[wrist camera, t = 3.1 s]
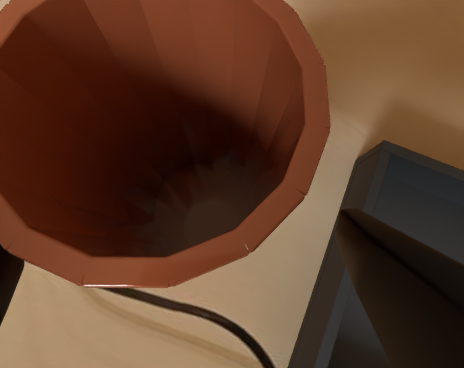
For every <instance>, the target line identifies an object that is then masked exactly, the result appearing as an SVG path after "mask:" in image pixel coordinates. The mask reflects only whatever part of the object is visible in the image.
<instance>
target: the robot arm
mask: <svg viewBox="0 0 464 368" xmlns="http://www.w3.org/2000/svg"><path fill="white" fill-rule="evenodd" d="M335 237H336V241H337V243H338V246H339V249H340V252H341V255H342V257H343V260H344V263H345V266H346V268H347V271H348V274H349V277H350V279H351V282H352V285H353V287H354V289H355V291H356V294H357V296H358V298H359V300H360V302H361V304H362V306H363V308H364V310H365V312H366V314H367V316H368V318H369V320H370V322H371V324H372V326H373V328H374V330H375V332H376V334H377V337H378V339H379V341H380V343H381V345H382V347H383V349H384V351H385V353H386V355H387V357H388V359H389V361H390V363H391V365H392V367H393V368H464V264H462V263H460V262H458V261H456V260H454V259H452V258H450V257H448V256H447V255H445V254H443V253H441V252H439V251H437V250H435V249H433V248H431V247H430V246H428V245H426V244H424V243H422V242H420V241H418V240H416V239H414V238H412V237H411V236H409V235H407V234H405V233H403V232H401V231H399V230H397V229H395V228H393V227H392V226H390V225H388V224H386V223H384V222H382V221H380V220H378V219H376V218H374V217H373V216H371V215H369V214H367V213H365V212H363V211H361V210H359V209H357V208H343V209H341V210H340V211H339V213H338V218H337V224H336V229H335ZM23 268H24V260H23V259H21V258H19V257H17V256H14V255H12V254H10V253H9V252H8V251H7V250H5V249H4V248H3V247H2V245H1V244H0V325H1V323H2V321H3V319H4V316H5V314H6V312H7V309H8V307H9V304H10V301H11V299H12V296H13V294H14V291H15V289H16V286H17V284H18V281H19V279H20V276H21V274H22V271H23Z"/></svg>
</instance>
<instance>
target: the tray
mask: <svg viewBox="0 0 464 368" xmlns="http://www.w3.org/2000/svg"><path fill="white" fill-rule="evenodd" d="M343 208H357V209H359V210H361V211H363V212H365V213H367V214H369V215H371V216H373V217H374V218H376V219H378V220H380V221H382V222H384V223H386V224H388V225H390V226H392V227H393V228H395V229H397V230H399V231H401V232H403V233H405V234H407V235H409V236H411V237H412V238H414V239H416V240H418V241H420V242H422V243H424V244H426V245H428V246H430V247H431V248H433V249H435V250H437V251H439V252H441V253H443V254H445V255H447V256H448V257H450V258H452V259H454V260H456V261H458V262H460V263H462V264H464V171H463V170H460V169H458V168H455V167H452V166H450V165H447V164H445V163H442V162H440V161H437V160H434V159H432V158H429V157H427V156H424V155H421V154H419V153H416V152H414V151H411V150H409V149H406V148H403V147H401V146H398V145H396V144H393V143H390V142H388V141H385V140H383V141H382V142H381V143H379V144H378V145H376V146H375V147H374V148H372V149H371V150H369V151H368V152H367V153H365V154H364V155H362V156H361V157H360V158H358V159H357V160H356V161H355V164H354V167H353V171H352V174H351V177H350V180H349V183H348V186H347V189H346V192H345V195H344V198H343V201H342V204H341V207H340V210H341V209H343ZM340 210H339V211H340ZM337 218H338V216H337ZM336 224H337V219H336V222H335V225H334V228H333V231H332V235H331V238H330V241H329V244H328V247H327V250H326V253H325V256H324V259H323V262H322V265H321V268H320V271H319V274H318V277H317V280H316V283H315V286H314V289H313V292H312V296H311V299H310V302H309V305H308V308H307V311H306V314H305V317H304V320H303V323H302V326H301V329H300V332H299V335H298V338H297V341H296V344H295V347H294V350H293V353H292V356H291V360H290V363H289V366H288V368H393V367H392V365H391V363H390V361H389V359H388V357H387V355H386V353H385V351H384V349H383V347H382V345H381V343H380V341H379V339H378V337H377V334H376V332H375V330H374V328H373V326H372V324H371V322H370V320H369V318H368V316H367V314H366V312H365V310H364V308H363V306H362V304H361V302H360V300H359V298H358V296H357V294H356V291H355V289H354V287H353V285H352V282H351V279H350V277H349V274H348V271H347V268H346V266H345V263H344V260H343V257H342V255H341V252H340V249H339V246H338V243H337V241H336V237H335V229H336Z"/></svg>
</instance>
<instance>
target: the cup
mask: <svg viewBox="0 0 464 368" xmlns="http://www.w3.org/2000/svg"><path fill="white" fill-rule="evenodd" d="M330 127H331V126H330V114H329V103H328V91H327V79H326V68H325V65H324V61H323V59H322V58H321V56H320V54H319V52H318V50H317V49H316V47H315V45H314V43H313V41H312V40H311V38H310V36H309V34H308V32H307V31H306V29H305V27H304V25H303V23H302V22H301V20H300V18H299V16H298V14H297V13H296V12H294V9H293V8H292V7H291V6H289V5H288V4H287V3H286V2H284V1H283V0H11V1H10V2H9V4H6V5H5V6H4V8H3V9H2V10H1V11H0V244H1V245H2V247H3V248H4V249H5V250H7V251H8V252H9V253H10V254H12V255H14V256H17V257H19V258H21V259H23V260H25V261H27V262H29V263H31V264H34V265H36V266H38V267H40V268H42V269H44V270H46V271H49V272H51V273H53V274H55V275H57V276H59V277H61V278H64V279H66V280H68V281H70V282H72V283H74V284H76V285H79V286H84V287H87V288H168V287H170V286H176V285H179V284H181V283H184V282H186V281H188V280H191V279H193V278H195V277H198V276H200V275H203V274H205V273H207V272H210V271H212V270H214V269H217V268H219V267H222V266H224V265H226V264H229V263H231V262H233V261H236V260H238V259H241V258H243V257H245V256H247V255H248V254H249V253H251V252H253V251H254V250H255V249H256V248H257V247H258V246H259V245H260V244H261V243H262V242H263V241H264V240H265V239H266V238H267V237H268V236H269V235H270V234H271V233H272V232H273V231H274V230H275V229H276V228H277V227H278V226H279V224H280V223H281V222H282V221H283V220H284V219H285V218H286V217H287V216H288V215H289V214H290V213H291V212H292V211H293V210H294V209H295V208H296V207H297V206H298V205H299V204H300V203H301V202H302V201H303V200H304V198H305V196H306V195H307V193H308V191H309V188H310V185H311V182H312V180H313V177H314V174H315V171H316V169H317V166H318V163H319V160H320V158H321V155H322V152H323V149H324V147H325V144H326V141H327V138H328V136H329V133H330Z"/></svg>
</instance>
